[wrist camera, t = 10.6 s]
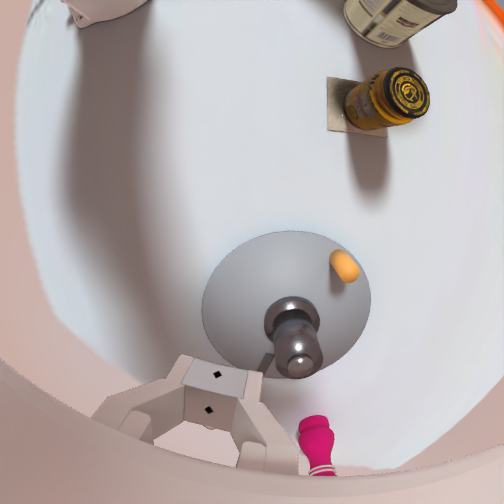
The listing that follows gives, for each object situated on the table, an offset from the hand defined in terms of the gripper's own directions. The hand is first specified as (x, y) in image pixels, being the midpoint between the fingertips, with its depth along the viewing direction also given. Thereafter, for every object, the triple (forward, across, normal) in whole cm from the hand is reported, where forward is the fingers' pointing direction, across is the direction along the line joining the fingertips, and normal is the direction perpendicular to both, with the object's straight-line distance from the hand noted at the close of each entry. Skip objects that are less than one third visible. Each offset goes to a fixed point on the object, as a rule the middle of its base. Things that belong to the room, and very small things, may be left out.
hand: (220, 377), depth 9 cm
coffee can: (+25, -10, -36) cm, 45 cm away
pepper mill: (+32, -17, +36) cm, 52 cm away
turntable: (+27, -5, +10) cm, 29 cm away
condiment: (+27, -9, -20) cm, 34 cm away
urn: (+27, -6, +10) cm, 29 cm away
